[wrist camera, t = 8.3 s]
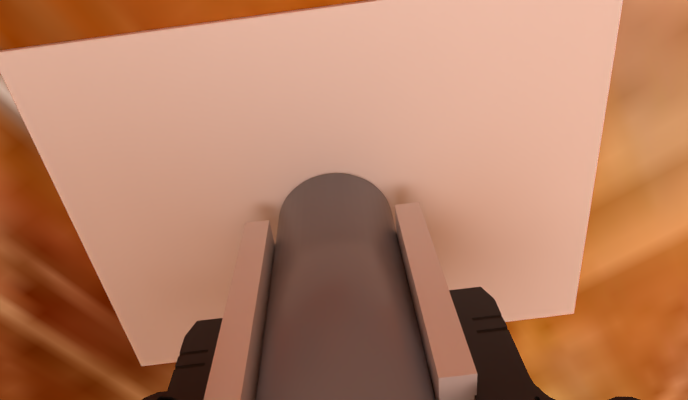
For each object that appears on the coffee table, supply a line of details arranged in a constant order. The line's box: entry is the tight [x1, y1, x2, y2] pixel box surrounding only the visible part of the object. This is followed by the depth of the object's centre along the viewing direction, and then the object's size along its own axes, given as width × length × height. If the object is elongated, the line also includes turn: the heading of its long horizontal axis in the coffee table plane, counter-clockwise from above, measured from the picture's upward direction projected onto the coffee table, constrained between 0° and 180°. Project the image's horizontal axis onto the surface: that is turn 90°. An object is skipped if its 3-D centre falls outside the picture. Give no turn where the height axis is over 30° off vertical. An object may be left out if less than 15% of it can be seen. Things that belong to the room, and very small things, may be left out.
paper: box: [0, 0, 623, 366], centre depth 17 cm, size 18×13×1 cm
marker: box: [255, 173, 436, 400], centre depth 11 cm, size 4×4×14 cm
